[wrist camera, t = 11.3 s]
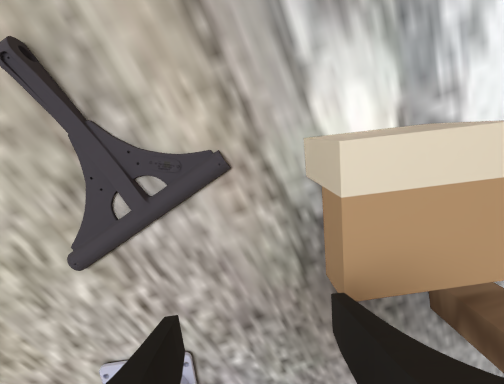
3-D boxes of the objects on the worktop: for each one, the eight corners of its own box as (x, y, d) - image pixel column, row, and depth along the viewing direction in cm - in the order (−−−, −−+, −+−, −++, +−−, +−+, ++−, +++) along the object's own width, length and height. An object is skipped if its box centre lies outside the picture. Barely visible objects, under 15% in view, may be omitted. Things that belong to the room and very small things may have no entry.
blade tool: (466, 297, 25) (555, 361, 18) (430, 308, 25) (505, 375, 18) (456, 164, 22) (558, 179, 15) (415, 175, 22) (499, 196, 15)
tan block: (424, 236, 23) (505, 280, 16) (311, 251, 22) (344, 303, 16) (429, 123, 21) (524, 119, 14) (303, 138, 20) (339, 141, 13)
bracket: (104, -15, 18) (80, -41, 15) (231, 166, 21) (230, 171, 18) (-54, 109, 19) (-103, 106, 16) (90, 263, 22) (70, 282, 19)
